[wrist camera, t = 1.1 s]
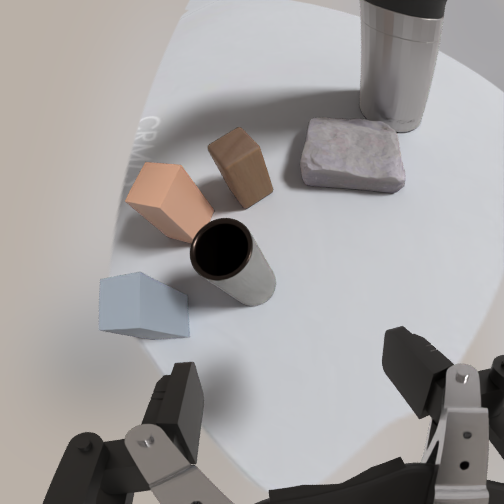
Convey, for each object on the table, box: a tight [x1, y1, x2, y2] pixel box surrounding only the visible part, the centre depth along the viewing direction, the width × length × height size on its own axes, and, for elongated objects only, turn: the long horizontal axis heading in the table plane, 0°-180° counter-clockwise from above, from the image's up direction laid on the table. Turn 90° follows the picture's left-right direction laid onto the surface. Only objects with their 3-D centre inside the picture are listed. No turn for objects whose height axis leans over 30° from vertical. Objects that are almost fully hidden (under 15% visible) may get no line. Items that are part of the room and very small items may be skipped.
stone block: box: [300, 117, 405, 193], centre depth 30 cm, size 12×5×10 cm
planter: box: [190, 218, 276, 306], centre depth 24 cm, size 4×4×10 cm
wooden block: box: [208, 127, 273, 209], centre depth 29 cm, size 4×4×8 cm
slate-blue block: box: [99, 272, 190, 340], centre depth 25 cm, size 4×4×9 cm
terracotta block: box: [125, 162, 214, 243], centre depth 28 cm, size 4×4×9 cm
